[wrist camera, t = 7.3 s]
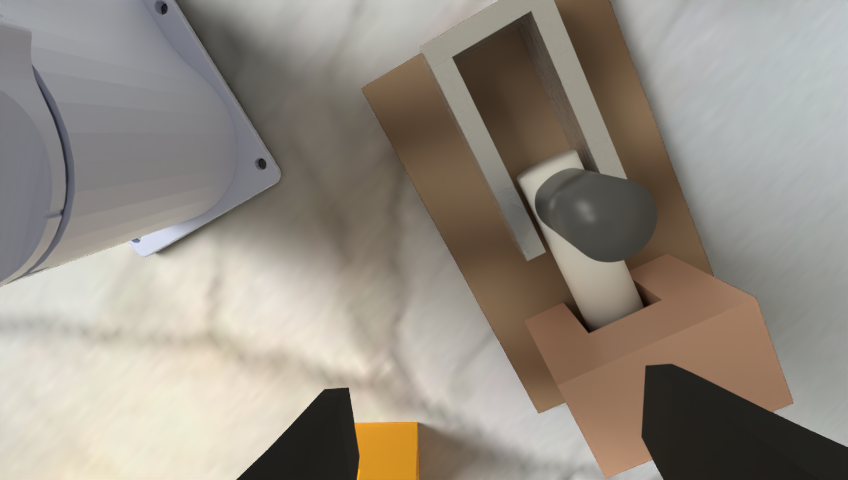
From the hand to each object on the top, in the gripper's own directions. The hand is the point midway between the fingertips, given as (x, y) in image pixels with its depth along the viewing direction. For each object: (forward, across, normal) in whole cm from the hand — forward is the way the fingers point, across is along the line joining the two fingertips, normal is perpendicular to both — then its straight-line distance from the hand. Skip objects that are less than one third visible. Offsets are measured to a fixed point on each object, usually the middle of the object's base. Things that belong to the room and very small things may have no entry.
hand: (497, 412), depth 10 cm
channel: (+9, -3, -6) cm, 11 cm away
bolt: (+9, -5, -1) cm, 10 cm away
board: (+10, -5, -2) cm, 11 cm away
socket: (+9, -7, +3) cm, 11 cm away
